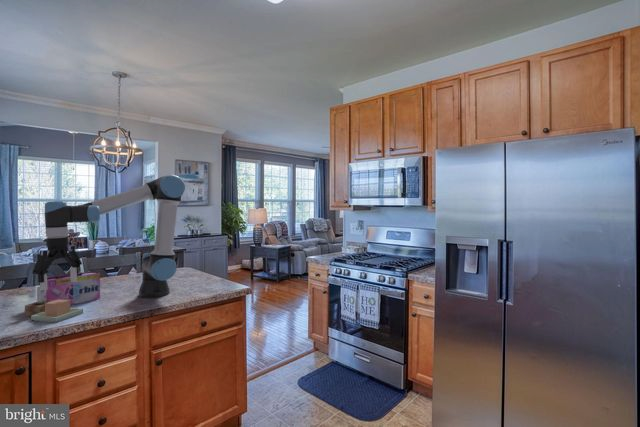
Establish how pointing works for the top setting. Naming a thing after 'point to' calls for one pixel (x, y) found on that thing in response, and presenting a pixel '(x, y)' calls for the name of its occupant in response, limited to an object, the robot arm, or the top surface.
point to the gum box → (74, 287)
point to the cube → (57, 308)
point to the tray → (44, 318)
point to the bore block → (34, 309)
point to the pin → (41, 296)
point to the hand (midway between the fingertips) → (59, 285)
